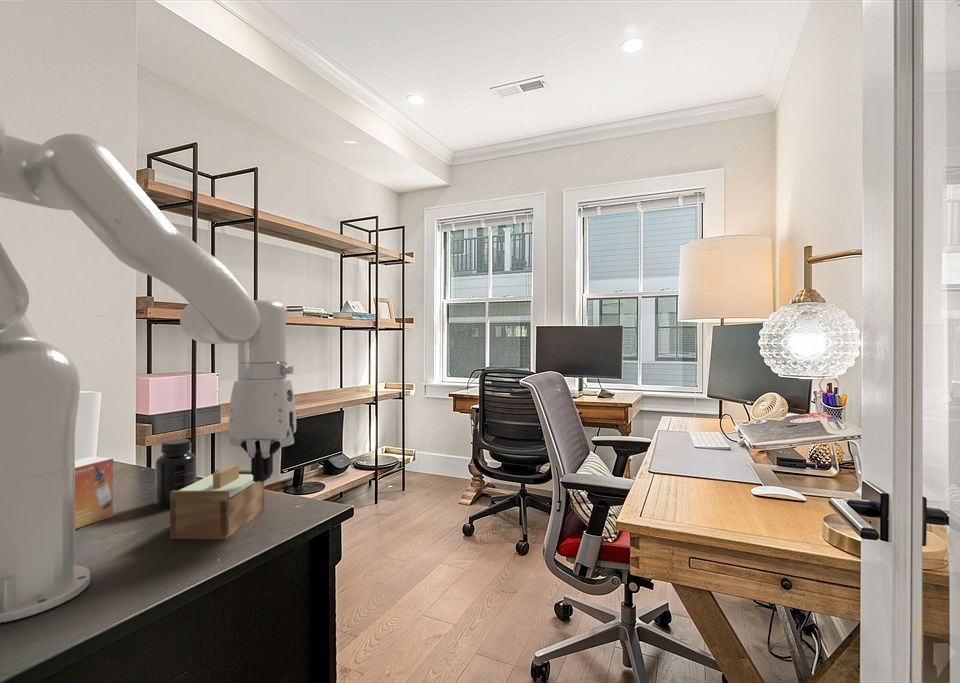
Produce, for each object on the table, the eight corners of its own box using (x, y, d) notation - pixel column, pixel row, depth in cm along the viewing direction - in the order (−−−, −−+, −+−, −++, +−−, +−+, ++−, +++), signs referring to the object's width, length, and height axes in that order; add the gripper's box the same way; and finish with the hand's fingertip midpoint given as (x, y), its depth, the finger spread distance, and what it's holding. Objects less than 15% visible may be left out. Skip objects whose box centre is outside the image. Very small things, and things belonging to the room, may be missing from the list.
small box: (68, 533, 80) (68, 469, 80) (41, 530, 81) (41, 467, 81) (114, 515, 88) (114, 457, 87) (89, 513, 89) (89, 455, 89)
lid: (229, 497, 78) (229, 478, 78) (174, 497, 79) (174, 477, 79) (261, 478, 89) (261, 461, 89) (213, 478, 90) (212, 460, 89)
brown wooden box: (225, 539, 77) (225, 492, 77) (170, 538, 78) (170, 492, 78) (264, 510, 90) (264, 470, 90) (216, 509, 91) (216, 470, 91)
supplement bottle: (147, 505, 93) (147, 442, 93) (183, 495, 99) (183, 436, 99) (168, 511, 90) (168, 446, 90) (204, 500, 96) (204, 439, 96)
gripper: (313, 371, 87) (313, 474, 87) (231, 371, 88) (231, 473, 88) (296, 374, 80) (296, 486, 80) (206, 374, 80) (206, 485, 80)
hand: (262, 479), depth 84 cm, fingers closed
